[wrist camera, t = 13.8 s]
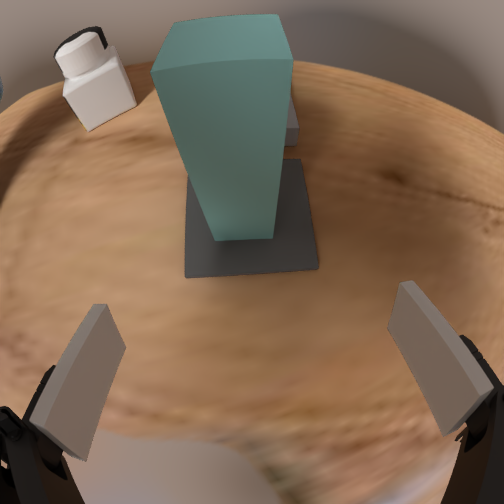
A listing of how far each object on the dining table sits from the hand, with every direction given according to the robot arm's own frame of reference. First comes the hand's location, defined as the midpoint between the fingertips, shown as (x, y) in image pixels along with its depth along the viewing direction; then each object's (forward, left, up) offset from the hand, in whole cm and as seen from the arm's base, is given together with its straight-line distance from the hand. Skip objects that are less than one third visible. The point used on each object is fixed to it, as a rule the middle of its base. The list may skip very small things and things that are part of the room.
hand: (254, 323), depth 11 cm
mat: (0, +9, -8) cm, 12 cm away
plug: (0, +9, -8) cm, 12 cm away
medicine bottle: (-17, +27, -9) cm, 33 cm away
